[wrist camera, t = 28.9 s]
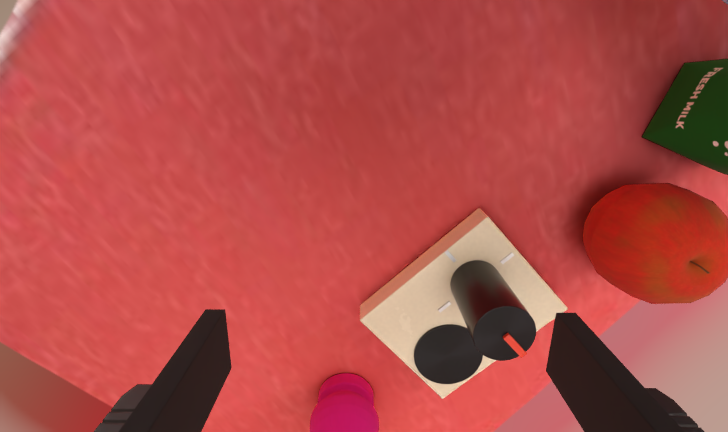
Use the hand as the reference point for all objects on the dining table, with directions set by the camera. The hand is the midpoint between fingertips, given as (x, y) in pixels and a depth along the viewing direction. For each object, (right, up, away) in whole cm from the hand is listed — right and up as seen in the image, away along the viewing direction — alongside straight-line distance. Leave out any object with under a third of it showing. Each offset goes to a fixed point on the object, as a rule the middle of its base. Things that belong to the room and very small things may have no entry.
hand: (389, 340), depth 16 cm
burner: (+8, -9, +25) cm, 28 cm away
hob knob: (+10, -2, +23) cm, 25 cm away
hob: (+9, -4, +27) cm, 28 cm away
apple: (+24, +4, +24) cm, 34 cm away
